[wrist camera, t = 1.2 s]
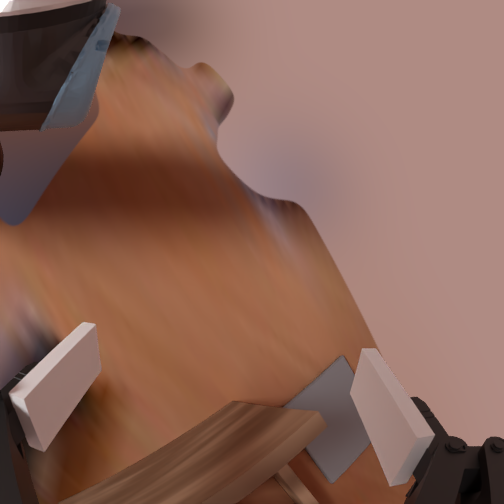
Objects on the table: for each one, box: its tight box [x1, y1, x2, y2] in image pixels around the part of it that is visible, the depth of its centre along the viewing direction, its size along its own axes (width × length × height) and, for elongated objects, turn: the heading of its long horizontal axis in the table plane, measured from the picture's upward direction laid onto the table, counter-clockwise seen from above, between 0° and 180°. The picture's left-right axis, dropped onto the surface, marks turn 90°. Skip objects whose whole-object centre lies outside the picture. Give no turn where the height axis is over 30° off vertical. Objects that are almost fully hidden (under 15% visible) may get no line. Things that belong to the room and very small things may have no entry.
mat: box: [282, 355, 371, 484], centre depth 37 cm, size 14×12×1 cm
